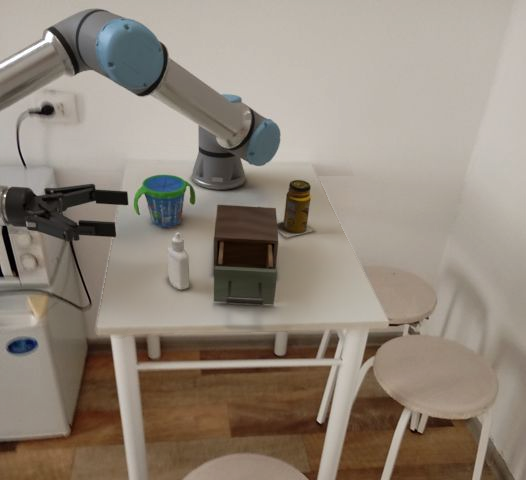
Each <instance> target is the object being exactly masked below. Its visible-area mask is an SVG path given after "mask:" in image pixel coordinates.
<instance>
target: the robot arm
mask: <svg viewBox="0 0 526 480" xmlns="http://www.w3.org/2000/svg"><path fill="white" fill-rule="evenodd" d="M87 71H93V72H95V73H97V74H99V75H101V76H103V77H105V78H107V79H109V80H110V81H112V82H113V83H115V84H116V85H118V86H120V87H122V88H124V89H125V90H127V91H129V92H130V93H132V94H134V95H136V96H138V97H139V98H145V97H148V96H151V97H153V98H154V99H156V100H158V101H159V102H161V103H162V104H164V105H165V106H167V107H168V108H170V109H172V110H173V111H175V112H177V113H178V114H180V115H182V116H183V117H184V118H187V119H188V120H190V121H191V122H193V123H195V125H198V126H197V127H198V153H197V156H196V158H195V162H194V165H193V168H192V173H191V178H192V181H193V183H194V184H196V185H197V186H199V187H201V188H205V189H207V190H214V191H215V190H216V191H228V190H234V189H236V188H239V187H241V186H242V185H243V184H244V183H245V180H246V179H245V178H246V174H245V169H244V165H243V163H242V160H243V161H245V162H247V163H248V164H249V165H253V166H255V167H263V166H265V165H267V163H270V162H271V161H272V160H273V159H274V157H275V156H276V154H277V152H278V151H279V148H280V144H281V129H280V127H279V125H278V124H277V123H276V122H275V121H274V120H272V119H271V118H266V117H264V116H263V115H261V114H259V113H258V112H257V111H256V110H254V108H253V109H252V107H250V106H248V105H247V104H246V103H245V102H243V100H242V97H241V96H240V95H236V94H228V93H227V94H225V93H222V94H221V93H219V92H218V91H217V90H215V89H214V88H212V87H211V86H210V85H208V84H206V83H205V82H204V81H203V80H201V79H200V78H199V77H197V76H196V75H194V74H193V73H191V72H190V71H189V70H188V69H186V68H185V67H183V66H182V65H180V64H179V63H178V62H176V61H174V59H172V58H170V55H169V50H168V48H167V46H166V45H165V44H164V43H163V42H161V41H160V40H159V38H158V37H157V36H156V35H155V33H154V32H152V30H151V29H149V28H148V27H147V26H146V25H145V24H143V23H141V22H140V21H137V20H135V19H131V18H126V17H125V16H121V15H119V14H116V13H114V12H111V11H109V10H106V9H103V8H88V9H84V10H81V11H79V12H78V11H77V12H76V13H74V14H72V15H70V16H68V17H66V18H63V19H62V20H60V21H58V22H57V23H54V24H53V25H51V26H49V27H48V28H46V29H44V30H43V33H42V37H41V38H40V39H38V40H36V41H35V42H32V43H31V44H29V45H27V46H26V47H23V48H22V49H20V50H19V51H17V52H15V53H13V54H11V55H9V56H8V57H5V58H4V59H2V60H0V113H1V112H2V111H4V110H6V109H8V108H10V107H11V106H13V105H15V104H17V103H19V102H20V101H22V100H23V99H24V100H25V98H27V97H29V96H31V95H32V94H34V93H36V92H37V91H39V90H41V89H43V88H44V87H46V86H48V85H50V84H51V83H54V82H55V81H56V80H58V79H60V78H62V77H64V76H66V77H70V78H73V77H75V76H77V75H78V74H80V73H83V72H87ZM43 189H44V194H41V195H37V194H36V193H35V192H34V191H33V189H31V187H26V186H11V187H10V186H9V185H0V227H3V226H5V227H9V226H12V227H16V228H26V229H27V231H33V232H38V233H42V234H45V235H48V236H50V237H53V238H57V239H60V240H63V241H65V242H73V241H74V242H77V241H80V236H87V237H89V236H90V237H106V238H116V237H117V231H116V230H117V228H116V222H115V221H102V220H85V219H79V220H78V222H76V221H74V220H73V219H71V218H69V217H67V216H66V215H64V214H62V212H67V210H68V208H73V207H77V206H81V205H85V204H89V203H92V202H95V204H97V205H99V204H100V205H113V206H114V205H115V206H129V194H128V191H125V190H111V189H96V184H94V183H88V184H86V183H85V184H79V185H71V186H62V187H45V188H43Z"/></svg>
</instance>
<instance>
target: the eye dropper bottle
mask: <svg viewBox="0 0 526 480" xmlns="http://www.w3.org/2000/svg"><path fill="white" fill-rule="evenodd" d="M184 240H185V239H184V238H183V237H182V236H181V235H180V232H178V231H177V232H175V236H174V237H172V238H171V246H169V247H168V249H167V266H168V267H167V270H168V281H169V283H170V285H171V286H172V287H174V288H175V289H178V290H181V291H182V290H185V289H188V288H190V261H189V260H190V259H189V254H188V252H187V250H186V249H185V241H184Z"/></svg>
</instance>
